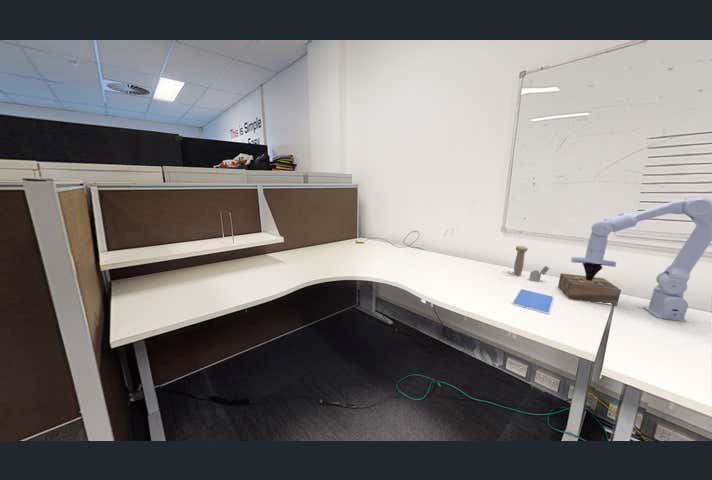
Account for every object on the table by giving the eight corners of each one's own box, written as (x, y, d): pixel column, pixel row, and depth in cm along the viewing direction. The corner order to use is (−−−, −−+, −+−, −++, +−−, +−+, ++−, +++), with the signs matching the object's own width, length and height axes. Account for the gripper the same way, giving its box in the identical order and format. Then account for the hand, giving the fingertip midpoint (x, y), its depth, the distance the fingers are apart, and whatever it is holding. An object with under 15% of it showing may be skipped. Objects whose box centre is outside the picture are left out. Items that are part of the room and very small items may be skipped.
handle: (520, 273, 142) (525, 246, 139) (523, 277, 136) (528, 249, 133) (510, 272, 144) (515, 245, 140) (513, 276, 138) (517, 248, 134)
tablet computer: (548, 316, 98) (549, 313, 98) (510, 305, 106) (511, 302, 106) (554, 299, 112) (554, 296, 112) (520, 291, 120) (520, 288, 120)
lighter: (530, 280, 132) (533, 265, 130) (529, 279, 134) (531, 264, 132) (546, 282, 130) (549, 267, 128) (545, 281, 132) (548, 266, 130)
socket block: (616, 305, 107) (621, 290, 105) (569, 298, 112) (572, 283, 111) (600, 292, 119) (603, 278, 118) (557, 286, 125) (560, 273, 123)
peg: (593, 295, 113) (596, 282, 112) (582, 293, 114) (585, 280, 113) (589, 291, 117) (592, 279, 115) (578, 290, 118) (581, 277, 117)
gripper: (578, 250, 110) (571, 280, 113) (623, 254, 105) (614, 286, 108) (572, 246, 116) (565, 275, 119) (613, 250, 111) (606, 280, 114)
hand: (588, 280), depth 114 cm, fingers closed, pressing on peg
